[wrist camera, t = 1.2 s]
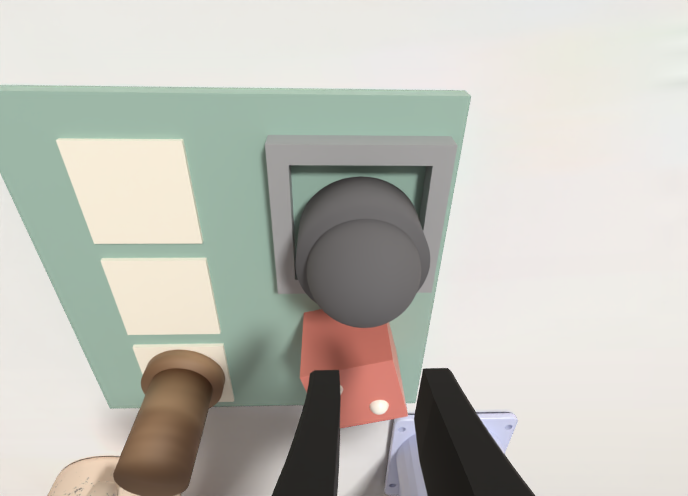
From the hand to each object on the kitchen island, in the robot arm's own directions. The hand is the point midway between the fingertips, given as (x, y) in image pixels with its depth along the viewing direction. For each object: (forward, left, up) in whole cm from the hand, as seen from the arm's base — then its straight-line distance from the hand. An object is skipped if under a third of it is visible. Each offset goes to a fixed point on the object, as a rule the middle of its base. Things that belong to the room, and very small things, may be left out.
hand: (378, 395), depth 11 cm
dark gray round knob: (0, 0, -8) cm, 8 cm away
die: (-7, 0, -9) cm, 11 cm away
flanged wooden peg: (-10, +9, -9) cm, 16 cm away
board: (-4, +5, -10) cm, 12 cm away
